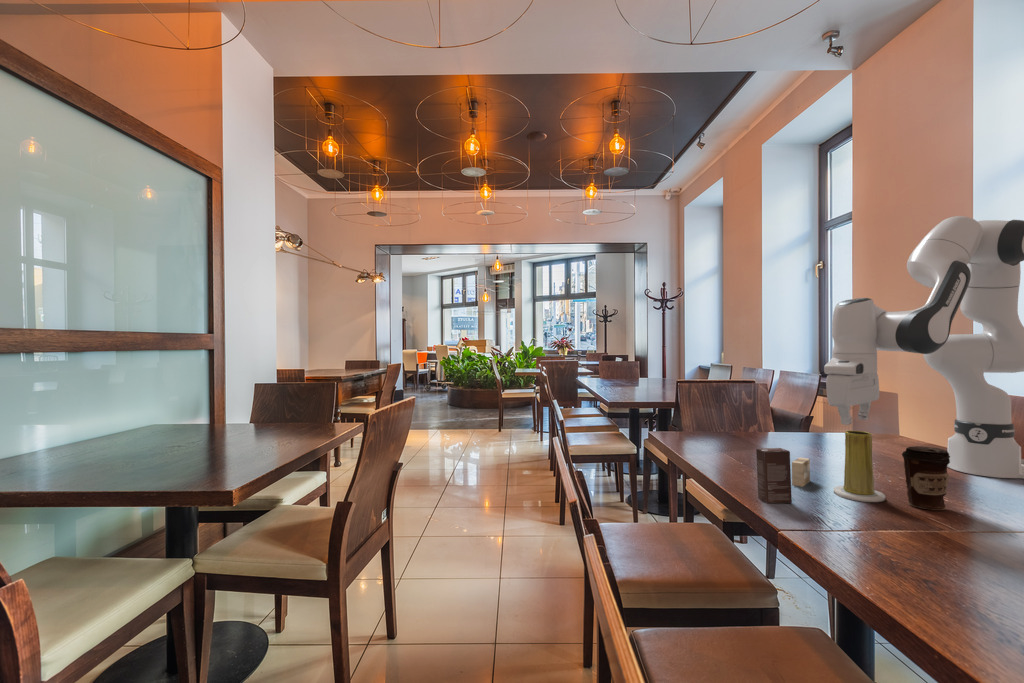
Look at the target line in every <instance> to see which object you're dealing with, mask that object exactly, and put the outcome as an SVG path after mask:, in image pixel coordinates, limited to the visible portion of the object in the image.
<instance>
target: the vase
mask: <svg viewBox="0 0 1024 683" xmlns="http://www.w3.org/2000/svg"><path fill="white" fill-rule="evenodd" d="M872 434H873V433H871V432H868V431H862V430H846V431H844V437H845V438H844V446H845V447H844V449H845V450H844V476H843V477H844V478H843V479H844V480H843V486H844V487H843V489H844V490H845V491H847V492H850V493H854V494H859V495H873V494H875V491H876V490H875V481H874V467H873V435H872ZM874 490H875V491H874Z"/></svg>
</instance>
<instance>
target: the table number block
mask: <svg viewBox="0 0 1024 683" xmlns="http://www.w3.org/2000/svg"><path fill="white" fill-rule="evenodd" d="M810 463H811V460H810V458H805V457H800V456H799V457H797V458H796V459H795V460H793V461H792V462H791V486H796V487H801V488H803V487H804V486H806V485H807V484H808V483H810V482H811V464H810Z"/></svg>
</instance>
